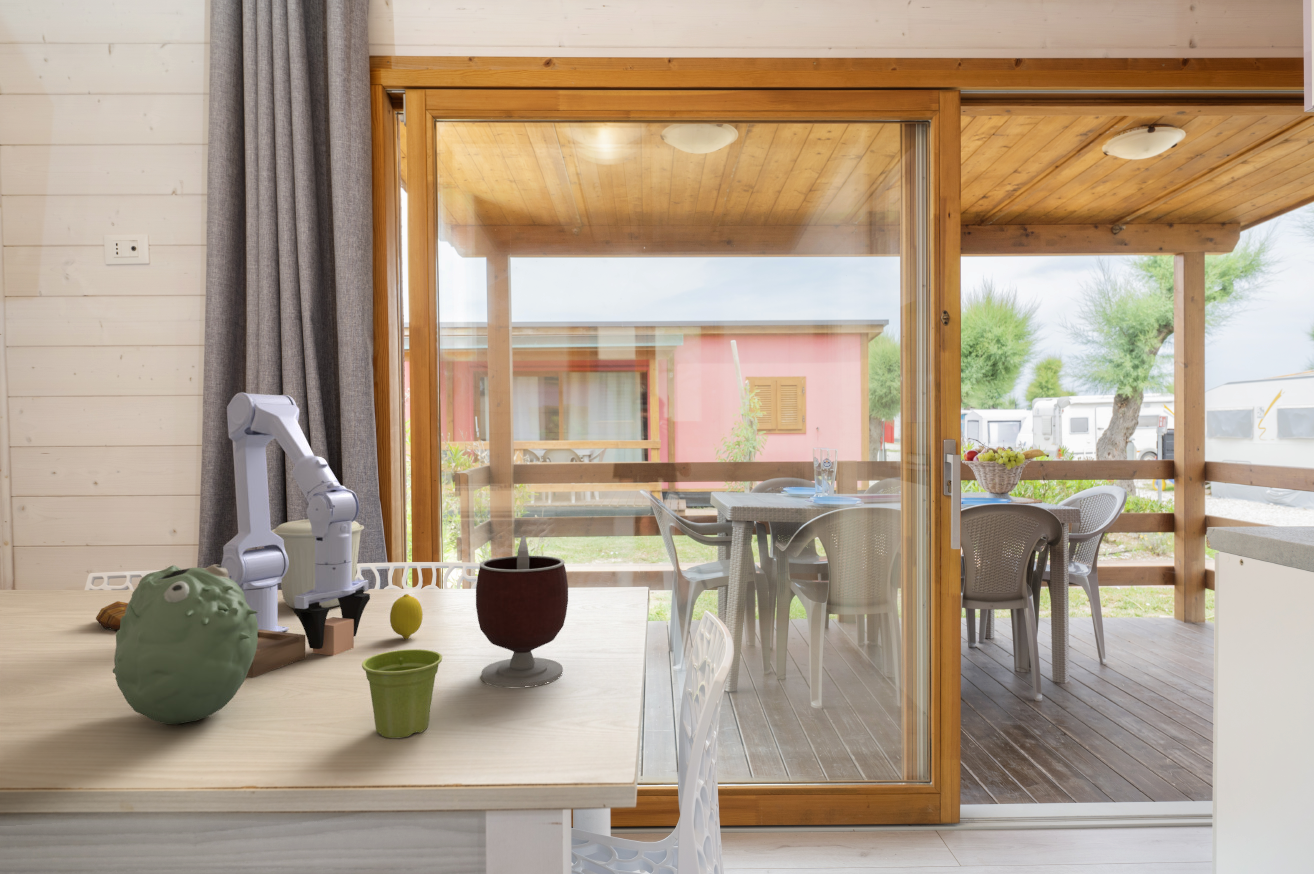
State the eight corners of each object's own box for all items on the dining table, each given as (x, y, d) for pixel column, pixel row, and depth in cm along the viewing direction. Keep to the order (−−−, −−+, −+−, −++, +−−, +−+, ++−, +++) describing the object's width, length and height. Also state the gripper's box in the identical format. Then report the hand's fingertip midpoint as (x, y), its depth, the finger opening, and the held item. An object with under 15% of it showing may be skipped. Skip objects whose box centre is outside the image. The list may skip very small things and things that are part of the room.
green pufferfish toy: (206, 688, 104) (206, 549, 104) (290, 712, 95) (290, 560, 95) (78, 726, 91) (78, 567, 91) (162, 759, 82) (162, 582, 82)
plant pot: (375, 715, 94) (375, 649, 94) (448, 713, 95) (448, 647, 95) (350, 746, 85) (351, 672, 85) (432, 743, 86) (432, 670, 86)
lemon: (412, 643, 127) (412, 598, 127) (383, 641, 128) (383, 596, 128) (428, 635, 132) (428, 591, 132) (400, 633, 133) (400, 590, 133)
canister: (341, 615, 147) (341, 511, 147) (253, 614, 147) (253, 511, 147) (377, 595, 165) (377, 502, 165) (298, 594, 165) (298, 502, 165)
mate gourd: (569, 686, 105) (570, 549, 105) (471, 692, 103) (471, 551, 103) (565, 654, 120) (565, 534, 120) (480, 659, 118) (480, 536, 118)
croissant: (152, 629, 137) (152, 602, 137) (109, 637, 131) (109, 609, 131) (125, 618, 145) (125, 593, 145) (83, 625, 139) (83, 599, 139)
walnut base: (204, 669, 113) (204, 645, 113) (259, 651, 122) (259, 629, 122) (252, 677, 109) (252, 652, 109) (305, 657, 119) (305, 634, 119)
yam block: (312, 653, 122) (312, 623, 122) (333, 645, 126) (332, 616, 126) (333, 655, 120) (333, 625, 120) (353, 648, 124) (353, 619, 124)
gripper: (318, 570, 115) (318, 656, 115) (382, 556, 128) (382, 632, 128) (284, 568, 117) (284, 651, 117) (350, 554, 131) (350, 629, 131)
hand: (333, 641), depth 123 cm, fingers open, 7 cm apart
